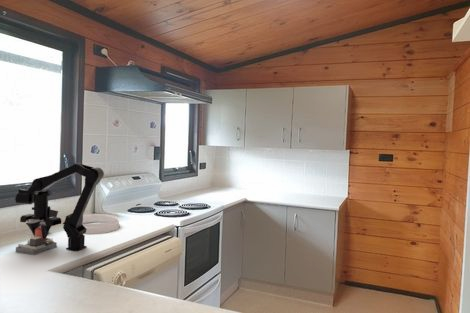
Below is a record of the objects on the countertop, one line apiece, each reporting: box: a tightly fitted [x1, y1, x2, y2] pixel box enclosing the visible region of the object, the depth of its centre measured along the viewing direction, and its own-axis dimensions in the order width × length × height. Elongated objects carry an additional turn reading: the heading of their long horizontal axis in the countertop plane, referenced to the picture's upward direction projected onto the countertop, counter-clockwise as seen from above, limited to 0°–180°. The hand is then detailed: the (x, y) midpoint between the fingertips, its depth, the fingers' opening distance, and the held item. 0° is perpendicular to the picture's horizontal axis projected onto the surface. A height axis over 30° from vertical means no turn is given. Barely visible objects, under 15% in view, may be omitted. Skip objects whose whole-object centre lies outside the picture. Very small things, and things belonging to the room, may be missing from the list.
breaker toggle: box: [29, 236, 42, 247], centre depth 160 cm, size 3×4×4 cm
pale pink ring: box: [82, 213, 120, 235], centre depth 206 cm, size 27×27×6 cm
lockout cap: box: [35, 227, 46, 241], centre depth 167 cm, size 5×5×6 cm
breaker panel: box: [15, 237, 58, 256], centre depth 164 cm, size 10×13×4 cm
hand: (40, 238), depth 167 cm, fingers closed on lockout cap, 4 cm apart
